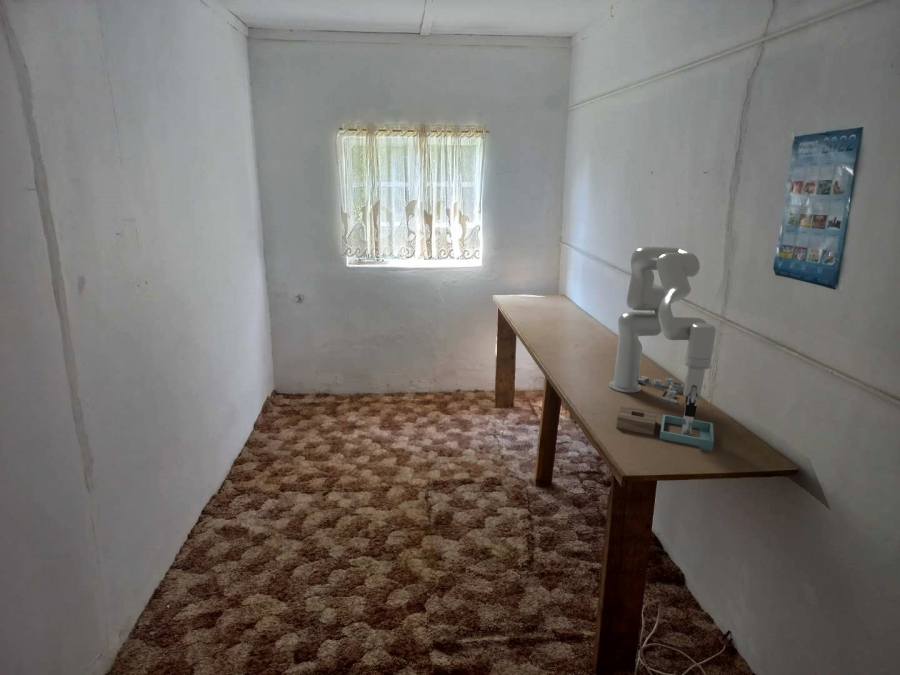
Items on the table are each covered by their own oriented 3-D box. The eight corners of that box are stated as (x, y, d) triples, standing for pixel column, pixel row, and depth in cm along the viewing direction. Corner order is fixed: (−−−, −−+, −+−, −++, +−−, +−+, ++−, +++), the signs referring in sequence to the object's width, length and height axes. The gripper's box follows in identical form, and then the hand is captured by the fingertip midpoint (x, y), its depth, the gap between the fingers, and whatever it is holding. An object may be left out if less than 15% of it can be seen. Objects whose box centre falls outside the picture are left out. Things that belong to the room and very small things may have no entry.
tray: (661, 423, 204) (663, 414, 204) (711, 432, 199) (712, 422, 198) (659, 441, 190) (660, 431, 189) (712, 451, 184) (713, 441, 184)
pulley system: (664, 381, 251) (632, 380, 249) (667, 371, 250) (634, 369, 247) (699, 408, 226) (664, 407, 223) (702, 397, 224) (666, 395, 222)
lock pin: (680, 432, 196) (685, 401, 193) (691, 434, 195) (695, 403, 192) (680, 436, 193) (685, 405, 191) (690, 437, 192) (695, 406, 189)
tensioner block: (620, 418, 208) (621, 404, 206) (655, 424, 203) (657, 411, 202) (615, 430, 197) (617, 416, 196) (653, 437, 193) (655, 423, 191)
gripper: (685, 352, 197) (678, 400, 201) (684, 367, 181) (676, 418, 186) (709, 356, 194) (701, 404, 198) (711, 370, 178) (702, 423, 183)
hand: (689, 411), depth 192 cm, fingers open, 9 cm apart
